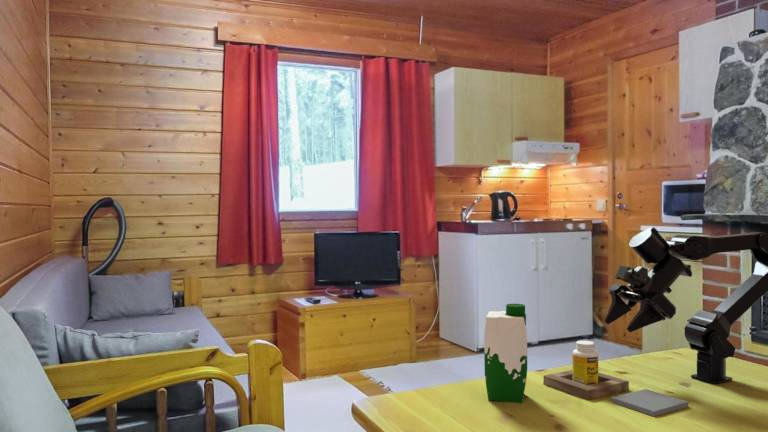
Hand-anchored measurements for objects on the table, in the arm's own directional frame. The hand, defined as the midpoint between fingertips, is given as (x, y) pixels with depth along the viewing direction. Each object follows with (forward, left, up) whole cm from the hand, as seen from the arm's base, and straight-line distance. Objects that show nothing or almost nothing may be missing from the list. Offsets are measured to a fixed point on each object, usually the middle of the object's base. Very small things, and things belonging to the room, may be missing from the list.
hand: (616, 326), depth 135 cm
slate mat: (+5, +12, -13) cm, 19 cm away
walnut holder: (+7, -3, -13) cm, 16 cm away
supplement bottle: (+7, -3, -14) cm, 16 cm away
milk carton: (+27, -7, -14) cm, 31 cm away
